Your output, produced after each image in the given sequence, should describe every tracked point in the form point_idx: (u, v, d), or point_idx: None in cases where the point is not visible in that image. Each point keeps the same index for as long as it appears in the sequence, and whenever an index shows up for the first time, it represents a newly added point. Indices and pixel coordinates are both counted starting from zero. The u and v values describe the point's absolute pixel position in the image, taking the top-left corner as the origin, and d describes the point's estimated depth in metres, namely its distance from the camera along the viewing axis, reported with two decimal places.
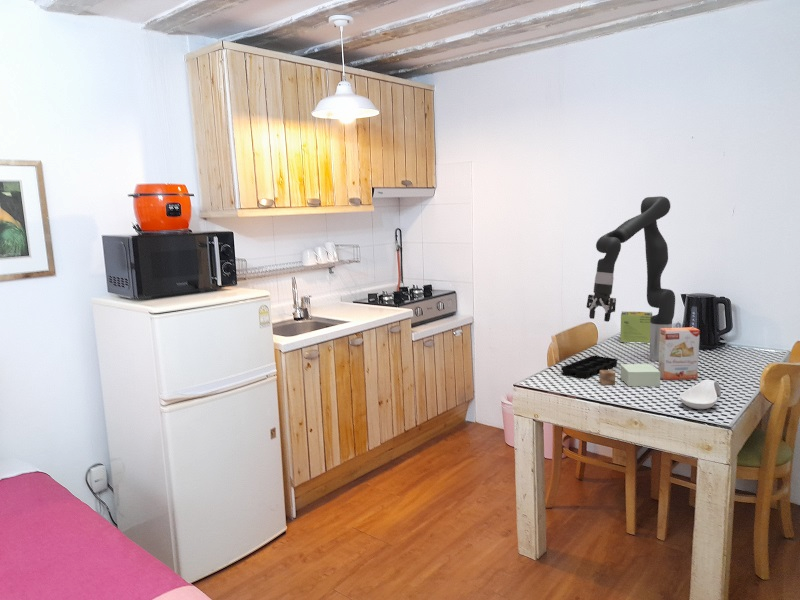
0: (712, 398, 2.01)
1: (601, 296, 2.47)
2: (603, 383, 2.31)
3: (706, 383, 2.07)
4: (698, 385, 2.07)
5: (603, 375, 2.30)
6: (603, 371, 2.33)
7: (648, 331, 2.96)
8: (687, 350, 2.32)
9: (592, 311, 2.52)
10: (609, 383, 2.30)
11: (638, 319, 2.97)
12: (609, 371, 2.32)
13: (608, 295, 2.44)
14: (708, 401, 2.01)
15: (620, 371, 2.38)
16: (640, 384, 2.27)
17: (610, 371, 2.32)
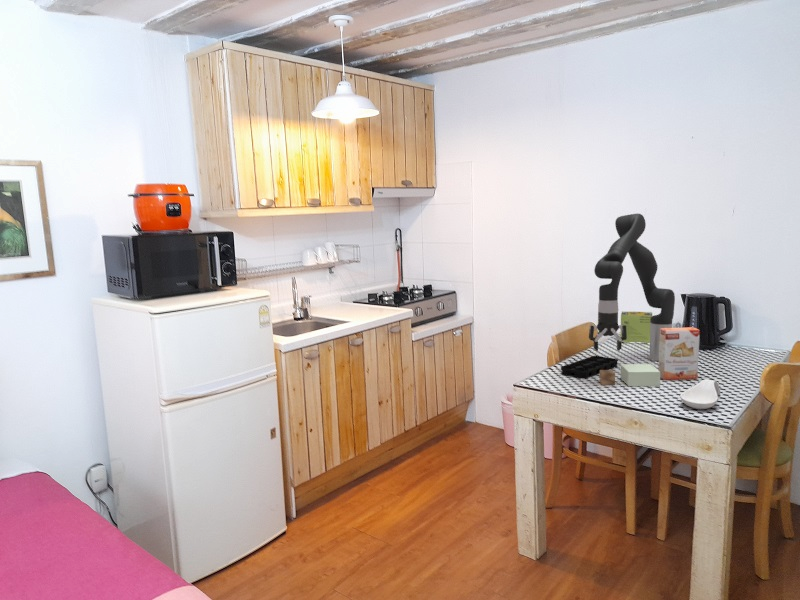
0: (712, 398, 2.01)
1: (610, 325, 2.28)
2: (603, 383, 2.31)
3: (706, 383, 2.08)
4: (698, 385, 2.08)
5: (603, 375, 2.30)
6: (603, 371, 2.33)
7: (648, 331, 2.96)
8: (687, 350, 2.32)
9: None
10: (609, 383, 2.30)
11: (638, 319, 2.97)
12: (609, 371, 2.32)
13: None
14: (708, 401, 2.02)
15: (620, 371, 2.38)
16: (640, 384, 2.27)
17: (610, 371, 2.32)
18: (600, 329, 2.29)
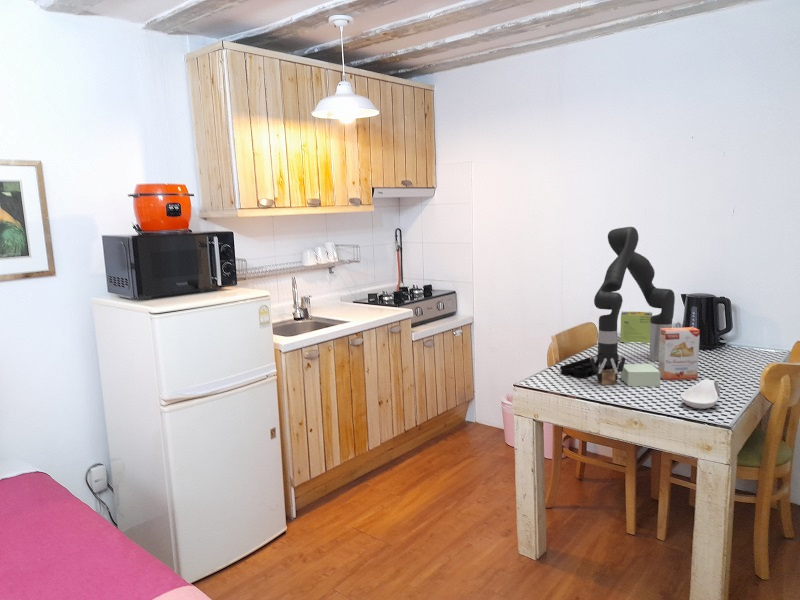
0: (713, 397, 2.01)
1: (610, 355, 2.30)
2: (603, 383, 2.31)
3: (706, 382, 2.08)
4: (698, 385, 2.08)
5: (603, 375, 2.30)
6: (603, 371, 2.33)
7: (648, 331, 2.96)
8: (687, 350, 2.32)
9: None
10: (609, 383, 2.30)
11: (638, 319, 2.97)
12: (609, 371, 2.32)
13: None
14: (709, 400, 2.02)
15: None
16: (640, 384, 2.27)
17: (610, 371, 2.32)
18: (600, 360, 2.31)
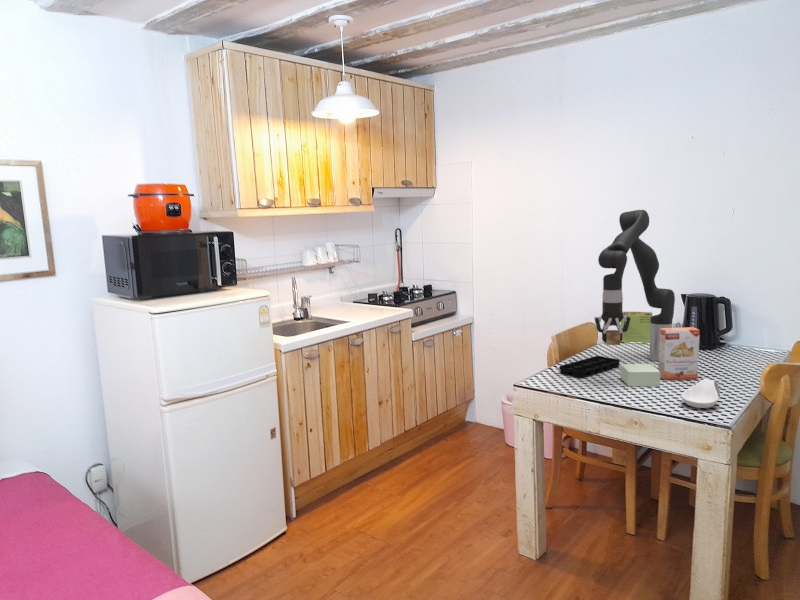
0: (713, 397, 2.02)
1: (615, 315, 2.28)
2: (608, 343, 2.29)
3: (706, 382, 2.08)
4: (698, 384, 2.08)
5: (608, 335, 2.28)
6: (608, 331, 2.30)
7: (648, 331, 2.96)
8: (687, 350, 2.32)
9: None
10: (614, 343, 2.28)
11: (638, 319, 2.97)
12: (614, 331, 2.30)
13: None
14: (709, 400, 2.02)
15: (620, 371, 2.38)
16: (640, 384, 2.27)
17: (615, 331, 2.30)
18: (605, 320, 2.29)
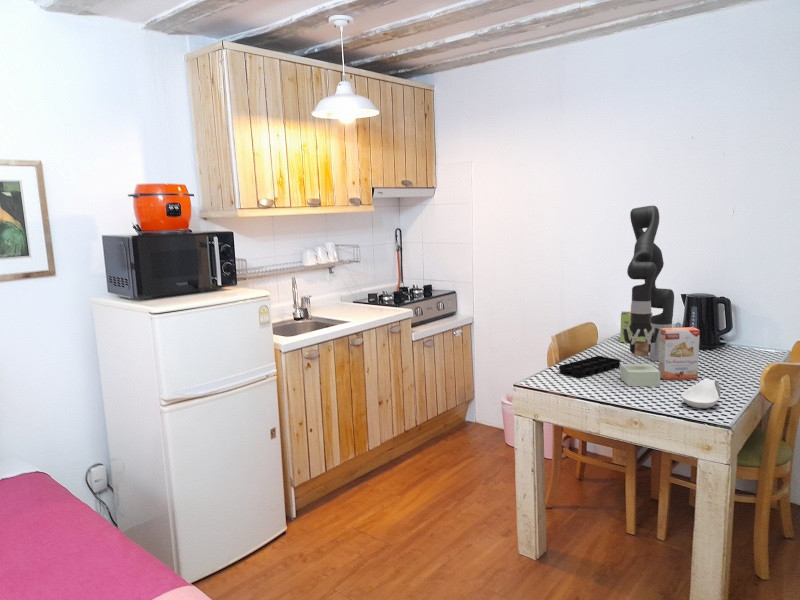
0: (713, 397, 2.02)
1: (643, 326, 2.28)
2: (636, 354, 2.28)
3: (706, 382, 2.09)
4: (699, 384, 2.08)
5: (636, 346, 2.28)
6: (636, 342, 2.30)
7: None
8: (687, 350, 2.32)
9: None
10: (642, 354, 2.28)
11: None
12: (642, 342, 2.30)
13: None
14: (709, 400, 2.03)
15: (620, 371, 2.38)
16: (640, 384, 2.27)
17: (643, 342, 2.30)
18: (633, 331, 2.29)
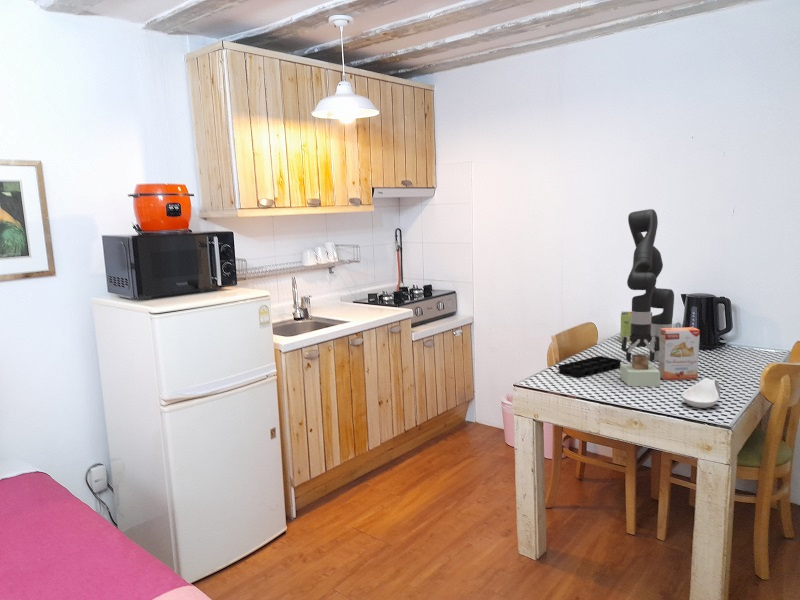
0: (713, 397, 2.02)
1: (643, 336, 2.28)
2: (636, 367, 2.29)
3: (706, 382, 2.09)
4: (699, 384, 2.09)
5: (636, 359, 2.29)
6: (636, 355, 2.31)
7: None
8: (687, 350, 2.32)
9: None
10: (642, 367, 2.29)
11: None
12: (642, 355, 2.31)
13: None
14: (709, 400, 2.03)
15: (620, 371, 2.38)
16: (640, 384, 2.27)
17: (643, 355, 2.31)
18: (633, 340, 2.29)
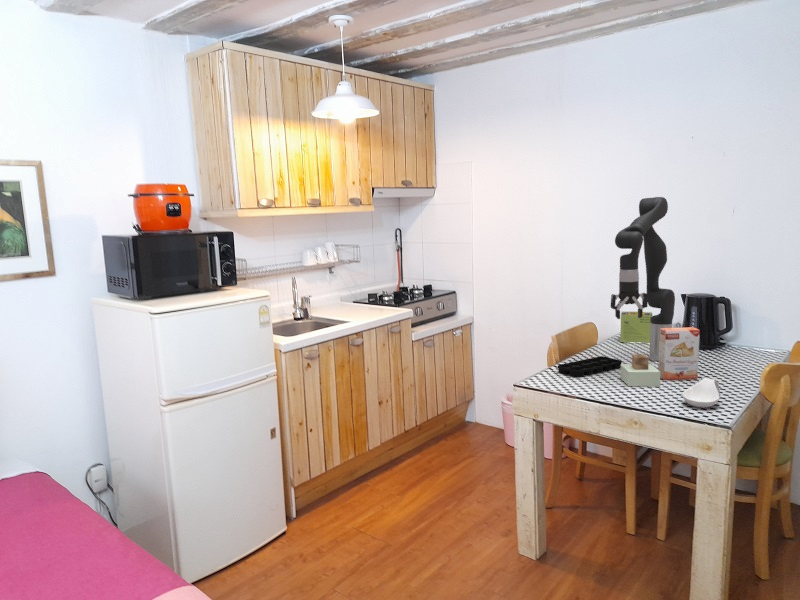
0: (714, 396, 2.03)
1: (631, 294, 2.36)
2: (636, 367, 2.29)
3: (706, 381, 2.09)
4: (699, 383, 2.09)
5: (636, 359, 2.29)
6: (636, 355, 2.31)
7: (648, 331, 2.96)
8: (687, 350, 2.32)
9: None
10: (642, 367, 2.29)
11: (638, 319, 2.97)
12: (642, 355, 2.31)
13: None
14: (710, 399, 2.03)
15: (620, 371, 2.38)
16: (640, 384, 2.27)
17: (643, 355, 2.31)
18: (622, 298, 2.37)
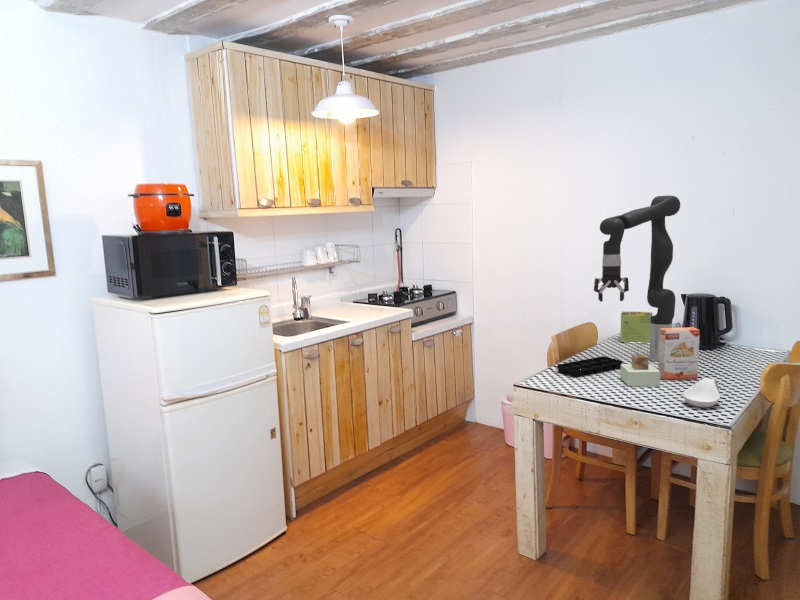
0: (714, 396, 2.03)
1: (613, 278, 2.49)
2: (636, 367, 2.29)
3: (706, 381, 2.10)
4: (699, 383, 2.09)
5: (636, 359, 2.29)
6: (636, 355, 2.31)
7: (648, 331, 2.96)
8: (687, 350, 2.32)
9: None
10: (642, 367, 2.29)
11: (638, 319, 2.97)
12: (642, 355, 2.31)
13: None
14: (710, 399, 2.04)
15: (620, 371, 2.38)
16: (640, 384, 2.27)
17: (643, 355, 2.31)
18: (604, 281, 2.49)
